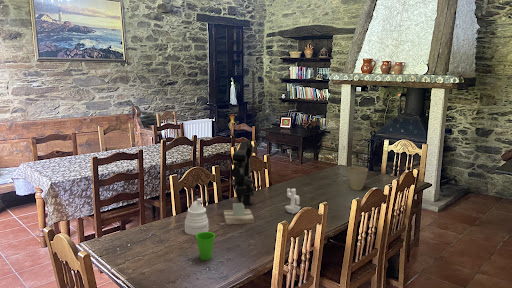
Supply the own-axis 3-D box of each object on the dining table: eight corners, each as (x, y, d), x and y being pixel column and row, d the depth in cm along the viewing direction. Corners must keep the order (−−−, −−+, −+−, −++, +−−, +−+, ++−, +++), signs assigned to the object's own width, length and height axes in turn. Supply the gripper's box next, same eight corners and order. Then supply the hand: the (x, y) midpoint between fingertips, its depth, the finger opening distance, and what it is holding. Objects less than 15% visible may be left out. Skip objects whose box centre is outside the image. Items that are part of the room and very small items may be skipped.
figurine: (294, 215, 237) (295, 192, 234) (283, 211, 244) (283, 188, 241) (302, 212, 242) (303, 189, 239) (290, 208, 248) (291, 186, 246)
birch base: (223, 214, 237) (223, 210, 236) (249, 213, 240) (249, 209, 239) (226, 224, 221) (226, 220, 221) (254, 222, 224) (254, 218, 224)
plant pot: (369, 188, 297) (370, 168, 294) (363, 193, 284) (364, 172, 282) (350, 185, 305) (351, 165, 302) (343, 189, 292) (344, 169, 289)
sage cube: (232, 212, 232) (232, 203, 231) (242, 212, 234) (242, 202, 232) (234, 216, 227) (234, 206, 226) (244, 216, 228) (244, 206, 227)
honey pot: (212, 227, 216) (212, 196, 213) (201, 236, 204) (201, 203, 201) (191, 224, 220) (191, 193, 217) (180, 232, 208) (179, 200, 205)
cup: (196, 253, 185) (196, 231, 183) (215, 253, 186) (215, 231, 184) (195, 262, 176) (194, 239, 174) (215, 262, 177) (215, 239, 175)
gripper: (255, 177, 218) (255, 203, 221) (250, 169, 236) (249, 193, 239) (235, 177, 216) (235, 204, 219) (231, 169, 234) (231, 194, 237)
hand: (238, 199), depth 229 cm, fingers open, 9 cm apart
